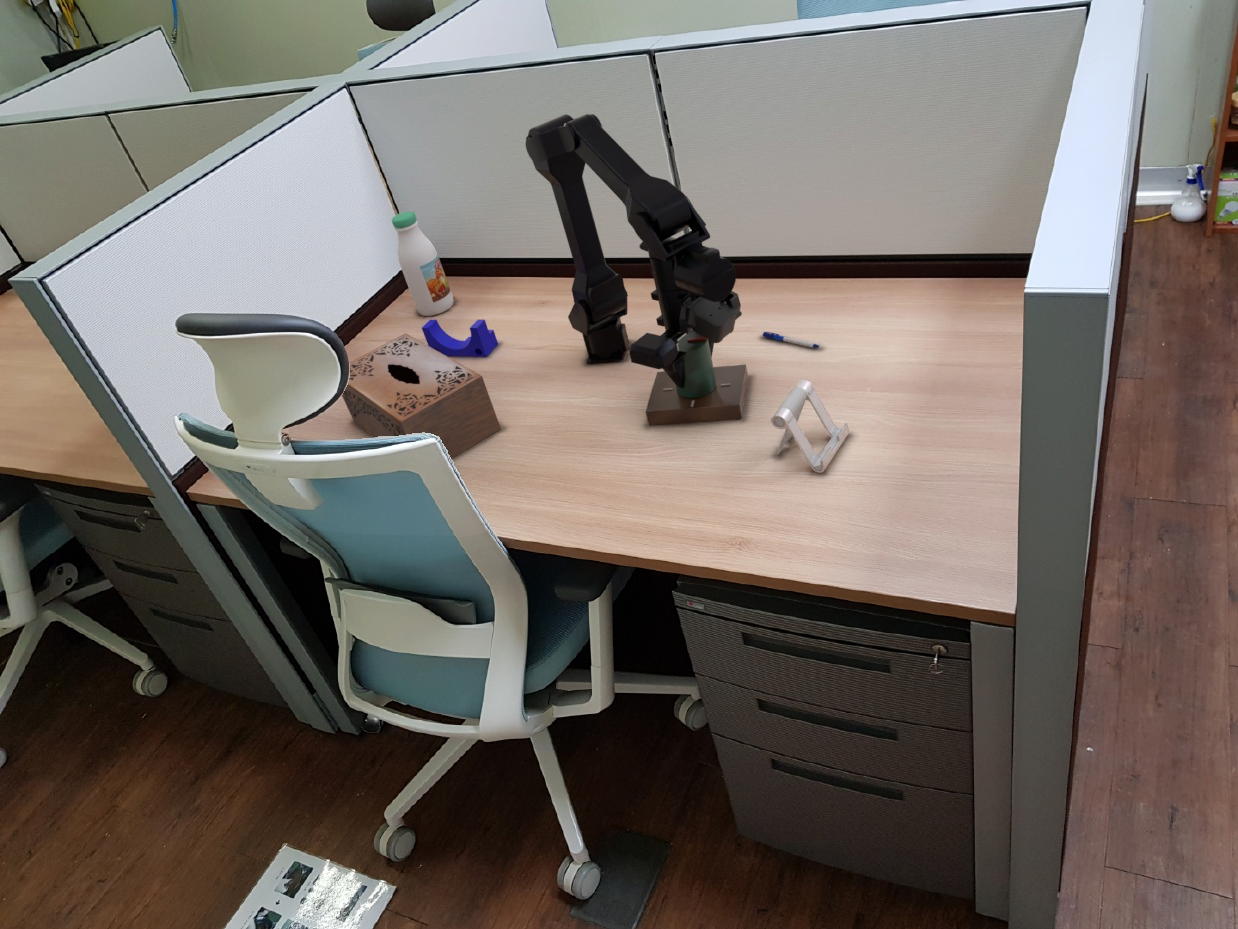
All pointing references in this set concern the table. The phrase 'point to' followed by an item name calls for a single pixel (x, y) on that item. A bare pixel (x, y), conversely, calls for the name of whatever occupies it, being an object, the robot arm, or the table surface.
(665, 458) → the table surface
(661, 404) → the dial knob base plate
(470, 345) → the cable clip
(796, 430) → the tablet stand
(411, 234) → the milk bottle
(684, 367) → the rotary knob
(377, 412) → the tissue box cover
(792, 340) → the ballpoint pen
